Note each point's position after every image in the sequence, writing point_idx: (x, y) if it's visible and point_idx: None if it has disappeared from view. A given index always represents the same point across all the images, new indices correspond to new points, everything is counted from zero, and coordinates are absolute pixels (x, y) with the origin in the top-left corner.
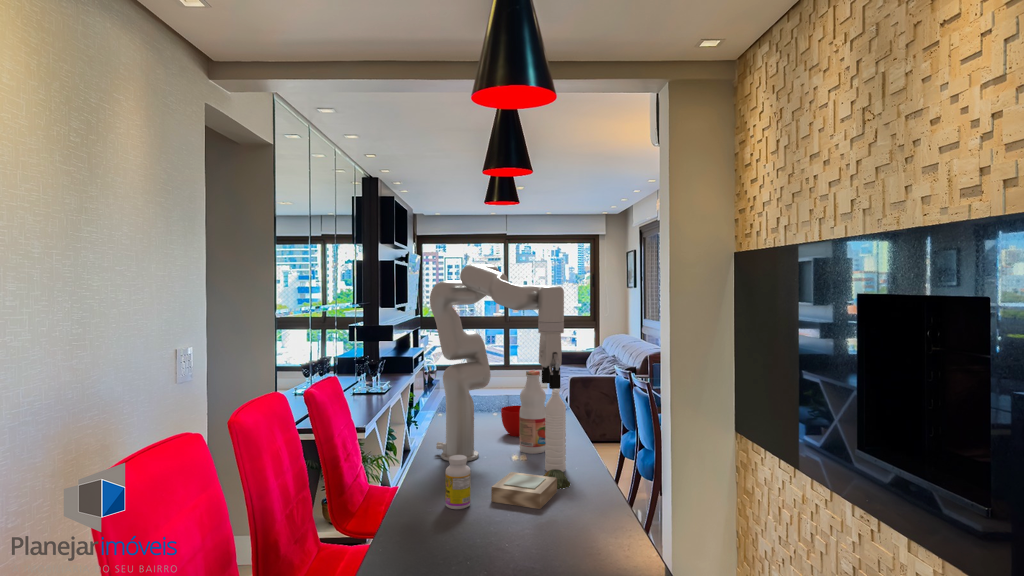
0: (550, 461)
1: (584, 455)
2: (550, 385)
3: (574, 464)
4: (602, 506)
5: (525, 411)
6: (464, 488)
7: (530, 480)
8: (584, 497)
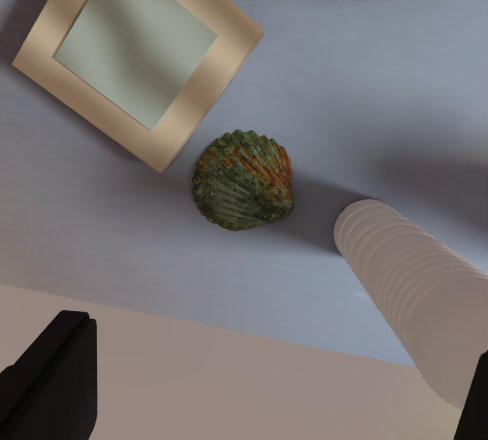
0: (355, 216)
1: None
2: (48, 340)
3: None
4: (37, 245)
5: None
6: None
7: (139, 69)
8: (111, 225)
